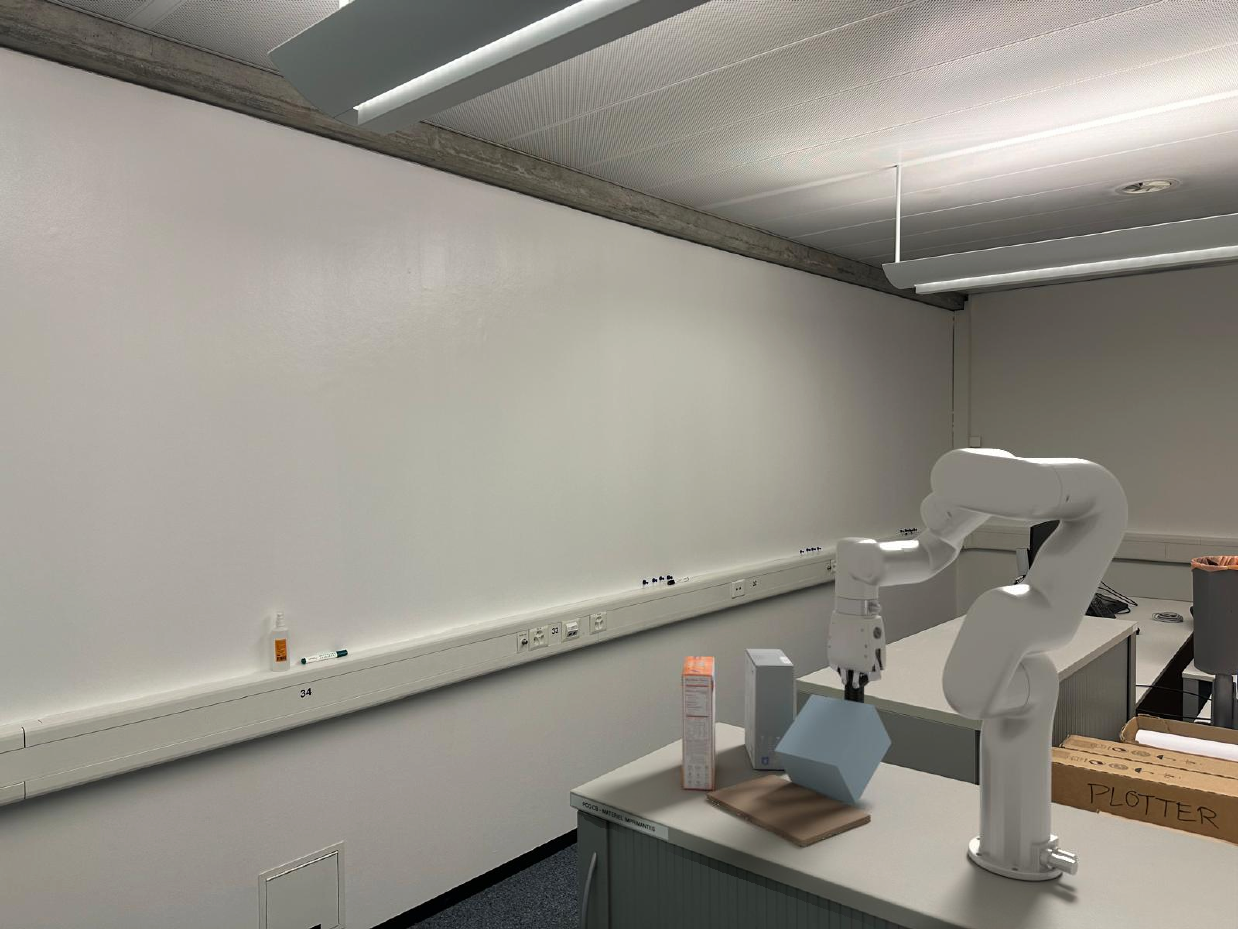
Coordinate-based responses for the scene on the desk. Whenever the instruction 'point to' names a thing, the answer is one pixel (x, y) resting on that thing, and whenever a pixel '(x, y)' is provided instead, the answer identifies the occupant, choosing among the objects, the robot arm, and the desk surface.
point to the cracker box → (698, 723)
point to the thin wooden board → (789, 809)
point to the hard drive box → (767, 704)
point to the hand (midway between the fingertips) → (853, 706)
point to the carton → (834, 747)
